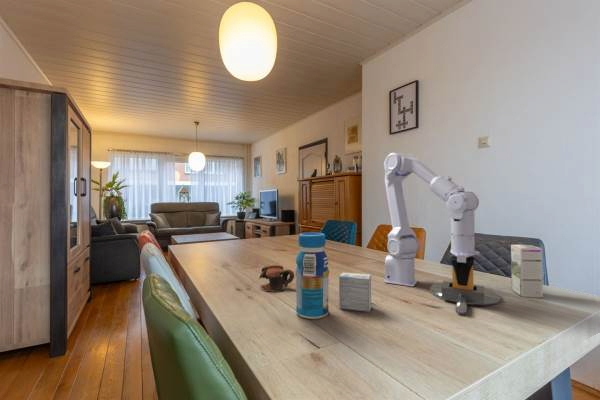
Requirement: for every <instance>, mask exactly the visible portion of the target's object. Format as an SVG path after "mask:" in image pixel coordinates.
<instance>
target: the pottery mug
mask: <svg viewBox="0 0 600 400" xmlns="http://www.w3.org/2000/svg"><path fill="white" fill-rule="evenodd" d="M294 273H295V272H294V271H293V270H291V269H286V270H284V266H282V265H279V264H278V265H277V264H276V265H269V266H264V267H263V268H261V273H260V275H259V280H261V279H265V280H269V282H268V283H266V284H264V285H263V287H264V290H265V292H270V291H275V292H279V291H281V292H282V291H283V290H284V287H285V288H287V287H288V285H289V284H291V283H292V282H293V281H294V278H295V274H294Z"/></svg>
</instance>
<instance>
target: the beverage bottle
mask: <svg viewBox="0 0 600 400" xmlns="http://www.w3.org/2000/svg"><path fill="white" fill-rule="evenodd" d="M298 246H299V248H300V250H299V251H298V253H297V256H296V259H295V263H296V265H297V266H296V267H295V272H294V273H295V288H296V289H295V293H296V295H295V296H296V297H295V298H296V299H295V300H296V308H295V311H296V314H297V315H298V316H299V317H301V318H303V319H309V320H319V319H322V318H324V317H326V316H327V315H328V314H329V309H330V307H329V275H330V269H329V267H328V264H329V263H330V261H329V257H328V255H327V253H326V251H325V250H324V248H326V234H325V233H322V232H302V233H299V234H298Z"/></svg>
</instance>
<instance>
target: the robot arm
mask: <svg viewBox="0 0 600 400" xmlns="http://www.w3.org/2000/svg"><path fill="white" fill-rule="evenodd" d="M383 168H384V172H385V173H384V185H385V190H386V197H387V204H388V210H389V215H390V221H391V227H392V229H391V230H390V232H389V233H388V234H387V246H386V247H387V251H388V253H389V255H386V257H385V261H384V283H386V284H394V285H400V286H406V287H415V285H416V284H417V283H418V281H419V280H418V279H417V278H415V277H416V257H417V253H419V252H420V251H419V250H420V247H421V246H420V241H419V240H418V238H417V236H416V232H415V231H414V229H412V228H411V227H410V224H409V218H408V217H409V216H408V214H407V208H406V202H405V195H404V191H403V185H402V184H403V182H404V180H405V179H407V178H408V176H410V175H411V174H412V173H414V174H415V175H416V176H418V177H419V178H420V179H422V180H423V181H424V182H426V183H427V184H429V186H430V188H429V189H430V191H431V192H433V194H435V195H436V196H437V197H439V198H440V199H441V200H442V201H443V202H444V203H445V205H446V209H448V211H449V213H450V214H449V216H450V228H451V229H450V250H449V251H450V253H451V254H452V256H451V258H450V264H452V268H453V267H454V270H455V273H456V278H457V283H458V285H463V286H467V283H468V278H469V273H470V270H471V268H472V266H473V267H474V264H475V256H479V255H480V251H477V250H475V241H476V240H475V236H476V235H475V230H476V229H475V223H476V222H475V211H476V210H477V209H478V208H479V204H480V201H479V197H478V196H477V195H476V194H475V193H474V192H472V191H465V187H464V186H459V185H458V184H457V183H455V182H454V181H453V178H452V177H451V176H448V175H447V176H446V175H438V174H437V173H435V172H434V171H433V170H432V169H431V168H429V167H428V165H426V164H425V163H423V161H422V160H421V158H419V157H417V156H415V155H414V154H411V153H410V154H405V153H397V152H390V153H389V154H388V155H387V156H386V158H385V159H384V161H383Z"/></svg>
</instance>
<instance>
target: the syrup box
mask: <svg viewBox="0 0 600 400" xmlns="http://www.w3.org/2000/svg"><path fill="white" fill-rule="evenodd" d="M510 257H511V261H510V263H511V264H510V265H511V266H510V267H511V268H510V269H511V271H510V273H511V291H512V292H514V293H515V294H517V295H519V296H520V297H524V298H537V299H538V298H540V299H542V298H544V291H543V290H544V289H543V288H544V286H543V284H544V283H543V282H544V281H543V247H538V246H535V245H531V244H511V245H510Z"/></svg>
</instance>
